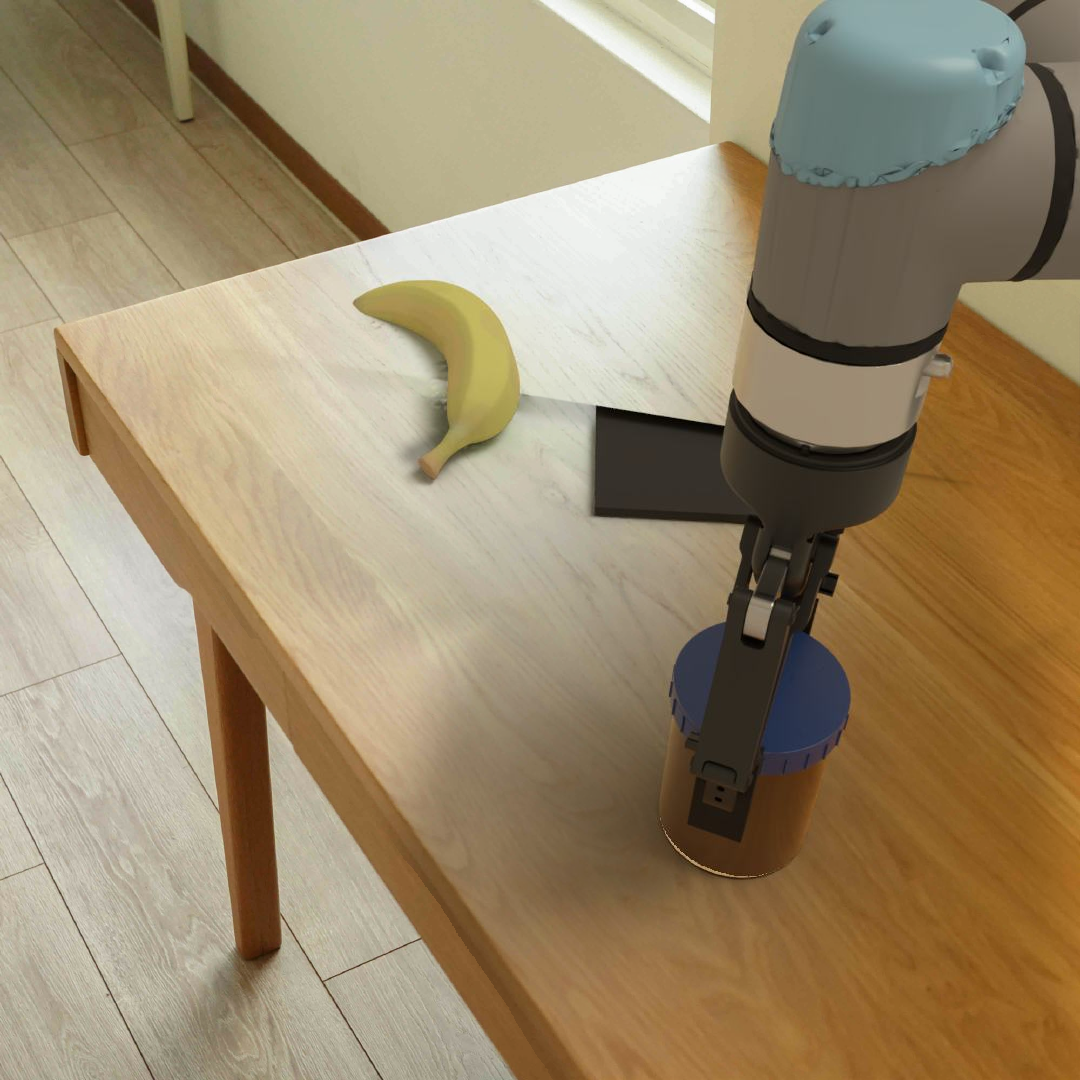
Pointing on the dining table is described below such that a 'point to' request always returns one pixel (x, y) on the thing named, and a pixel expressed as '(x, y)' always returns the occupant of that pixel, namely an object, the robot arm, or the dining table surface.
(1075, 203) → the robot arm
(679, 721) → the jar lid
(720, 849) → the jar
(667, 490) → the tray
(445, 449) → the banana
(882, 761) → the dining table surface
